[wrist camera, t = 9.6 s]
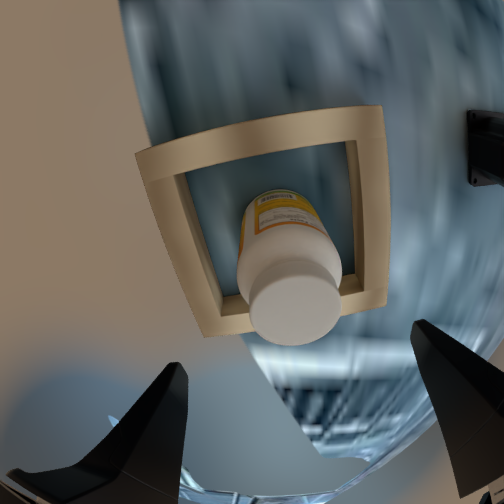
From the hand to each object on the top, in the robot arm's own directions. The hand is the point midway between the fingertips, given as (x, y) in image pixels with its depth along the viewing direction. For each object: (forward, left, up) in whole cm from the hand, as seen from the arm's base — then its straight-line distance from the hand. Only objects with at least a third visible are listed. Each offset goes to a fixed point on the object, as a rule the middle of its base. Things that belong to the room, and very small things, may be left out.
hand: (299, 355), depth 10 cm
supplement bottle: (0, 0, -12) cm, 12 cm away
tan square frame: (0, 0, -12) cm, 12 cm away
